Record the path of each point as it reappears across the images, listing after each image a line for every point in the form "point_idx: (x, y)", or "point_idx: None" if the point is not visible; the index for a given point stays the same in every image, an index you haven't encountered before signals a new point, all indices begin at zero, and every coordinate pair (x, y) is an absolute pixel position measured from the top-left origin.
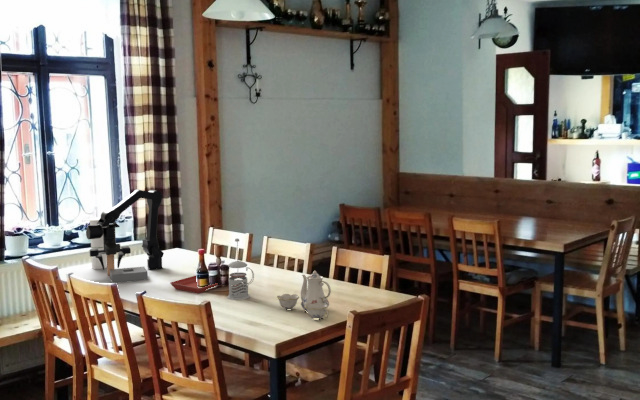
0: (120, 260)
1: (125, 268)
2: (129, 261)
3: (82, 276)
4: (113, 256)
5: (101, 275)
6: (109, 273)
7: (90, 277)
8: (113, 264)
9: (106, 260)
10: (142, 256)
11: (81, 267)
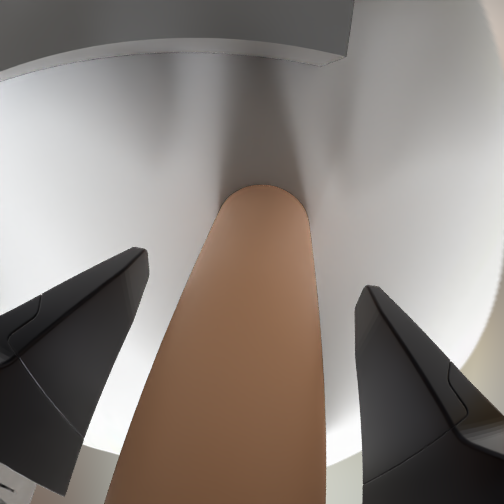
0: (19, 309)
1: (32, 35)
2: (124, 435)
3: (488, 312)
4: (116, 479)
5: (367, 267)
6: (293, 208)
7: (481, 242)
8: (191, 292)
9: None
10: (93, 442)
11: (347, 456)
